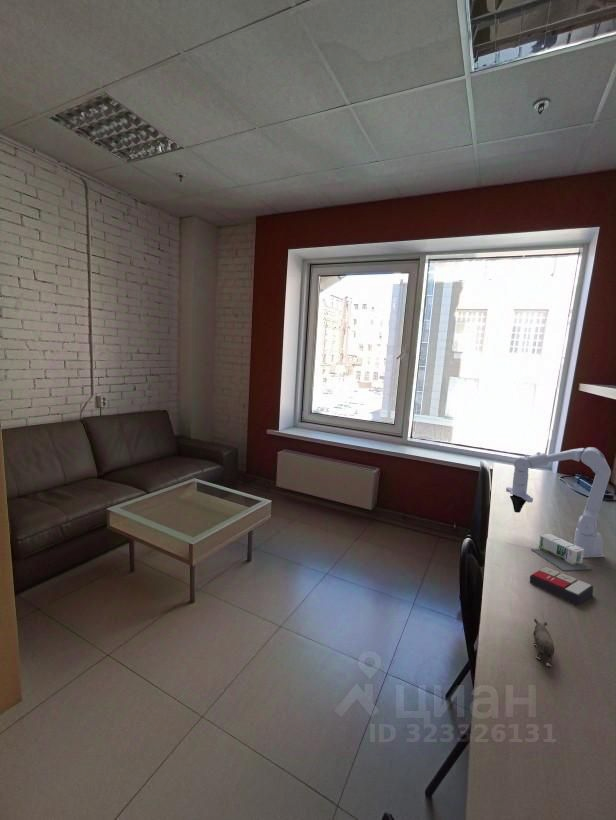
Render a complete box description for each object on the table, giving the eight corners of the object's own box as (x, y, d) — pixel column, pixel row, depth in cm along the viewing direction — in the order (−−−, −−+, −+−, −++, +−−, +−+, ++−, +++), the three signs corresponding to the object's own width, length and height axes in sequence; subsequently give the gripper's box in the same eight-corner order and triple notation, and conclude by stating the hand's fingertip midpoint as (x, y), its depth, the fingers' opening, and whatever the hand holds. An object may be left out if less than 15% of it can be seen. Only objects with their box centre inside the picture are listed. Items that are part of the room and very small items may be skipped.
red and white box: (544, 565, 134) (593, 584, 121) (544, 576, 134) (593, 596, 122) (529, 573, 128) (579, 594, 115) (529, 585, 128) (578, 607, 116)
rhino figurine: (545, 634, 103) (548, 614, 102) (555, 669, 90) (557, 647, 90) (528, 629, 104) (531, 610, 104) (535, 663, 92) (538, 641, 91)
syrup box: (539, 534, 153) (575, 551, 139) (549, 533, 155) (585, 549, 141) (538, 547, 153) (573, 565, 140) (547, 546, 156) (583, 563, 142)
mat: (556, 548, 154) (556, 548, 154) (590, 569, 138) (591, 568, 138) (531, 549, 152) (531, 549, 152) (563, 570, 137) (563, 569, 137)
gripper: (501, 478, 171) (498, 506, 173) (523, 488, 157) (520, 518, 159) (515, 478, 173) (512, 505, 174) (538, 488, 158) (535, 518, 160)
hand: (517, 511), depth 166 cm, fingers closed
